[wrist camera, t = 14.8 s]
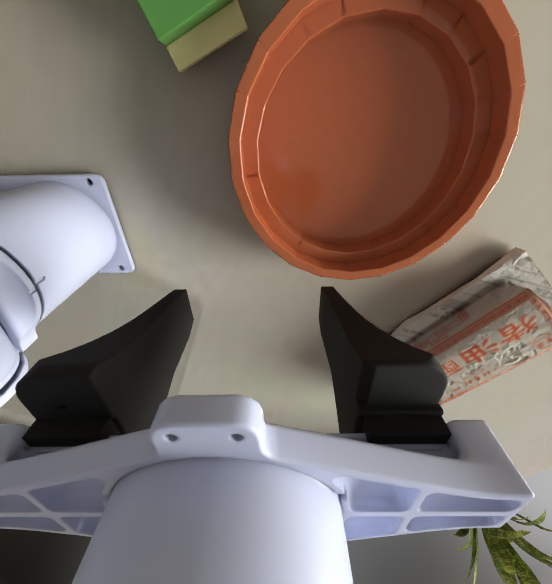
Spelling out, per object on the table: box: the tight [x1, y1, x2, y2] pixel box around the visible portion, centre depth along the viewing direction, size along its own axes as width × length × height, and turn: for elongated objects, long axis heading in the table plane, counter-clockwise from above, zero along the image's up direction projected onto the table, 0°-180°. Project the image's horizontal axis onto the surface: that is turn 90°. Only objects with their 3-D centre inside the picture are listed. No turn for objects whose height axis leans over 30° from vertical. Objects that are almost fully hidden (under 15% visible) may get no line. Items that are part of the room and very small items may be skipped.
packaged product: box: [391, 247, 552, 405], centre depth 26 cm, size 18×5×10 cm
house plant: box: [454, 512, 552, 584], centre depth 34 cm, size 14×14×16 cm
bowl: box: [228, 0, 526, 280], centre depth 17 cm, size 16×16×4 cm
